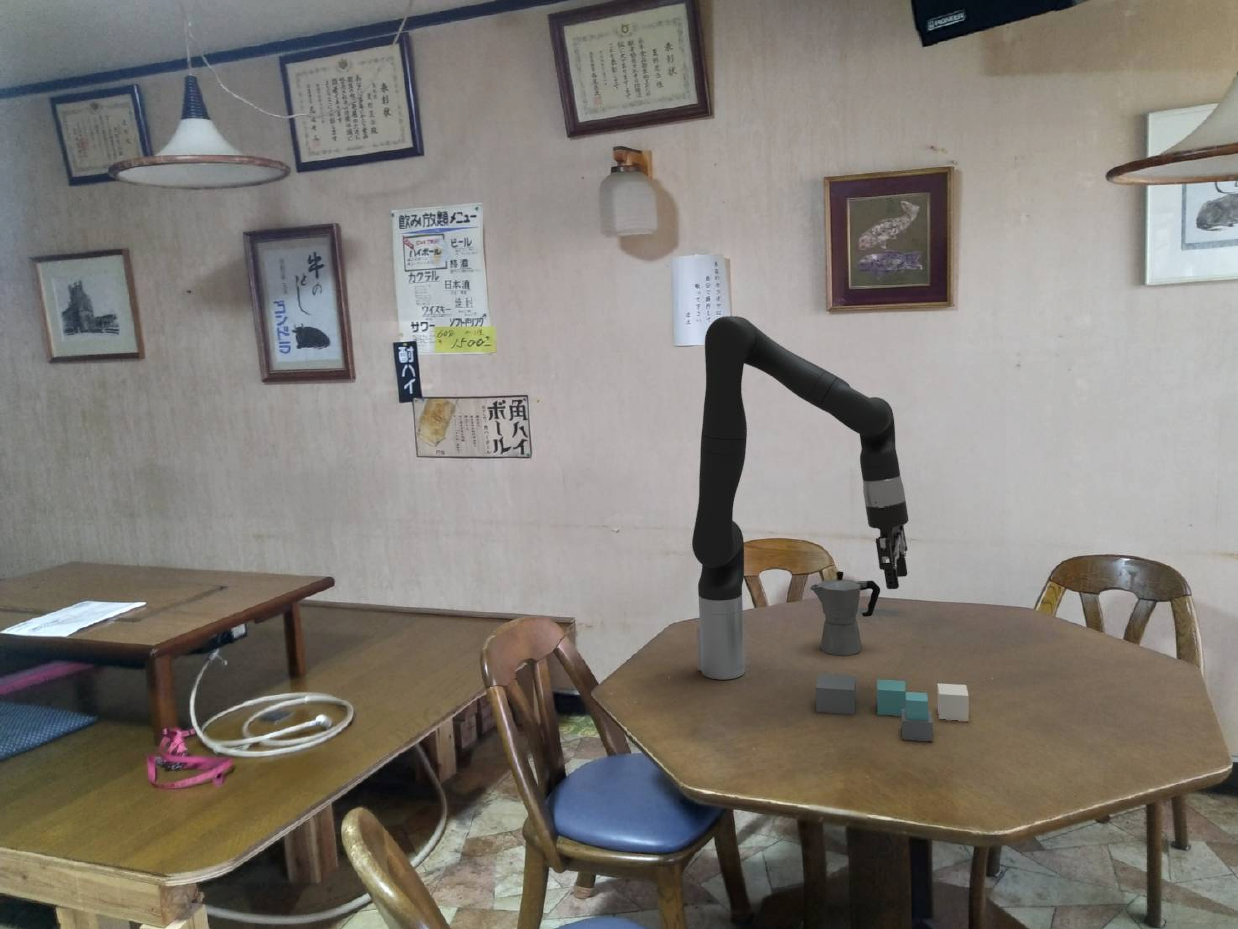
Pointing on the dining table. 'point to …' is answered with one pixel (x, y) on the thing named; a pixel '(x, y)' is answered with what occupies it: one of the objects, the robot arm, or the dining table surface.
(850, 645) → the coffeepot
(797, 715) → the dining table surface
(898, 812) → the dining table surface
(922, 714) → the stack
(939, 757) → the dining table surface
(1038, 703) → the dining table surface
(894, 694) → the teal block
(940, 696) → the cream block
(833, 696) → the charcoal block
